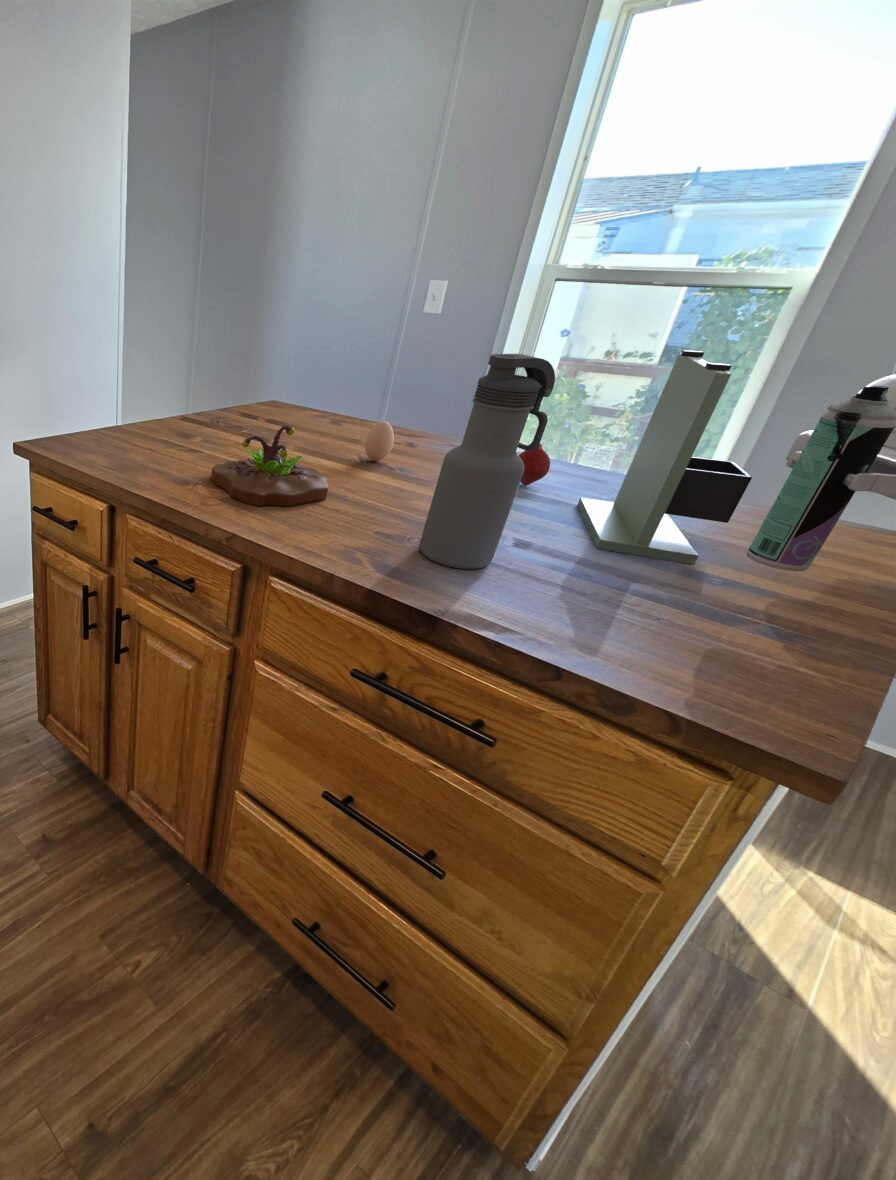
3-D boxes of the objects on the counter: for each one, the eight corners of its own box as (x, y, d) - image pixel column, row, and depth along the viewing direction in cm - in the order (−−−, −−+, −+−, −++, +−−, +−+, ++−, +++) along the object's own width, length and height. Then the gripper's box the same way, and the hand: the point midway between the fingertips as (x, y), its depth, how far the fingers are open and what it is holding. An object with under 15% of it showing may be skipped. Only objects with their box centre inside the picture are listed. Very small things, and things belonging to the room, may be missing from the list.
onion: (503, 478, 127) (516, 437, 123) (535, 481, 126) (550, 440, 122) (513, 488, 122) (527, 446, 118) (547, 491, 121) (562, 448, 117)
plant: (347, 502, 115) (361, 439, 109) (245, 510, 110) (254, 445, 105) (291, 466, 131) (300, 410, 126) (200, 472, 127) (206, 414, 122)
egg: (389, 459, 137) (398, 419, 133) (387, 466, 132) (397, 425, 128) (362, 455, 139) (371, 416, 134) (360, 462, 134) (369, 422, 130)
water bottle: (462, 539, 101) (523, 348, 87) (509, 568, 93) (585, 362, 79) (403, 544, 99) (457, 350, 85) (446, 574, 91) (513, 363, 77)
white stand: (685, 521, 109) (769, 353, 96) (724, 570, 93) (831, 376, 80) (577, 505, 115) (642, 344, 102) (596, 548, 99) (676, 364, 86)
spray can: (809, 576, 74) (920, 394, 64) (744, 561, 77) (841, 386, 67) (807, 560, 77) (913, 386, 67) (746, 547, 80) (838, 378, 70)
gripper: (1048, 539, 63) (897, 534, 64) (850, 472, 81) (733, 469, 82) (1098, 477, 60) (938, 472, 61) (881, 421, 78) (759, 418, 79)
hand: (819, 470), depth 72 cm, fingers closed on spray can, 5 cm apart
